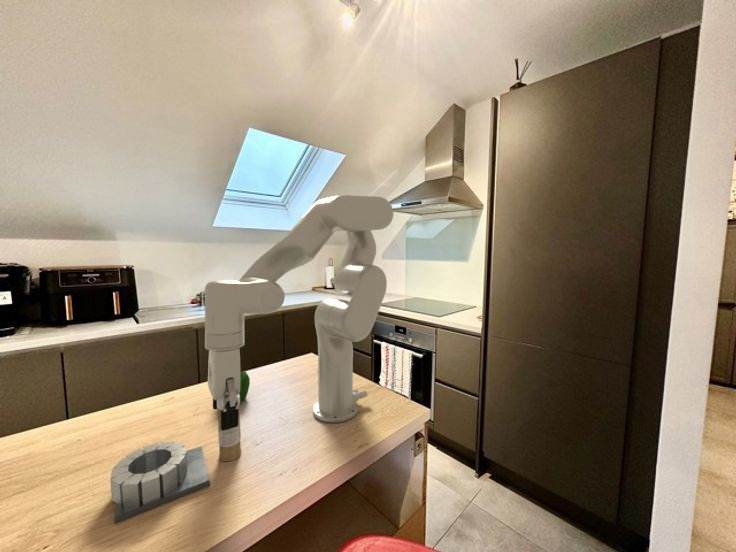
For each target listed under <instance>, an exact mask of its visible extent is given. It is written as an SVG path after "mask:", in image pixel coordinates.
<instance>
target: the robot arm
mask: <svg viewBox="0 0 736 552" xmlns="http://www.w3.org/2000/svg"><path fill="white" fill-rule="evenodd" d="M393 218H394V208H393V206H392V204H391V203H390V201H388V199H386V198H384V197H382V196H373V195H372V196H371V195H369V196H368V195H349V194H347V195H346V194H342V195H340V194H339V195H335V196H330V197H326V198H322V199H319V200H317V201H316V202H314V203H313V204H312V205H311V207H309V209H308V210H307V211H306V212H305V214H303V216H301V218H300V219H299V220H298V222H297V223H296V224H295V225H294V226H293V228H292V229H291V230H290V231H289V232H288V233H287V234H286V235H285V236H284V237H283V239H281V240H280V241H278V242H277V243H276V244H275V245H273V246H272V247H271V248H269V250H267V251H266V252H264V253H263V254H262V255H261V256H260V257H259V258H257V260H256V261H254V263H253V264H252V265H251V266H250V267H249V268H248V269H247V270H246V272H245V273H244V274H243V275H242V276H241V277H240V278H239V280H235V279H218V280H217V279H216V280H211V281H208V282H207V284H206V285H205V286H204V348H205V350H207V351H208V365H207V366H208V368H207V371H208V372H207V387H208V390H209V392H210V394H211V396H212V408H213V410H218V408H217V400H218V399H220V398H221V401H222V409H223V410H222V411H221V430H222V431H224V430H228V429H231V428H235V427H237V426H238V412H239V411H240V406H239V407H238V400H237V395H238V394H239V393H240V372H241V355H240V354H241V353H240V348H243V347H244V346H245V315H246V314H252V315H253V314H257V315H267V314H272V313H274V312H277V311H278V310H279V309H280V308H282V306H283V305H284V302H285V292H284V289H283V287H282V286H281V285H280V284H279V283H277V281H279V280H280V278H282V277H283V276H284V275H285V274H287V273H288V272H290V271H292V270H294V269H296V268H299V267H302V266H304V265H306V264H308V263H310V262H312V261H313V260H315V258H316V257H317V255H318V253H320V251H321V250H322V248H323V247H324V246H325V245H326V243H327V242H328V241H329V240H330V238H331V237H332V236H333V235H334V233H336V232H345V231H346V234H347V240H348V241H347V247H346V249H345V252H344V255H343V257H342V259H341V262H340V264H339V267H338V268H337V271H336V274H335V277H334V279H333V286H334V289H335V291H336V292H337V293H338V294H340V295H341V296H344V297H347V298H350V300H349V301H348V300H344V299H341V298H327V299H324V300H322V301H321V302H320V303H319V304H318V305H317V307H316V309H315V313H314V326H315V330H316V336H317V337H316V338H317V352H318V353H317V363H318V365H317V366H318V369H317V371H318V372H317V373H318V374H317V378H318V380H317V383H318V384H317V386H318V390H317V391H318V401H316V402H315V403H314V404H313V406H312V415H313V416H314V417H315V418H317V419H318V420H320V421H322V422H325V423H332V424H333V423H342V422H346V421H348V420H349V421H350V419H353V418H354V417H355V416H356V415H357V414H358V412H359V404H358V401H359V400H361V399H364V398H366V397H368V391H366V390H365V389H363V390H360V391H359V389H358V388H356V389H354V388H353V387H354V386H353V385H354V384H353V379H354V377H353V376H354V375H353V374H354V372H353V371H354V370H353V369H354V368H353V367H354V366H353V364H354V362H353V361H354V360H353V359H354V348H353V342H357V343H358V342H361V341H363V340H364V339H366V338H367V337H368V336H369V334H370V333H371V332H372V329H373V327H374V325H375V322H376V319H377V317H378V314H379V312H380V310H381V306H382V303H383V301H384V298H385V294H386V292H387V285H388V284H387V283H388V282H387V277H386V272H384V270H383V269H382V267H379V266H378V265H375V264H374V261H375V258H376V254H377V244H376V241H375V238H374V235H373V232H372V231H378V230H380V231H381V230H384V229H386V228H387V227H388V226H389V225H391V223H392V221H393V220H394V219H393ZM225 393H228V394H226V395H224V394H225ZM228 398H229V401H227V403H226V402H225V399H228Z"/></svg>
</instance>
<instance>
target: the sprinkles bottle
mask: <svg viewBox="0 0 736 552" xmlns="http://www.w3.org/2000/svg"><path fill="white" fill-rule="evenodd" d="M226 394H228V393H225V394H224V395H226ZM237 400H238V407H239V408H240V404H241V401H240V395H239V394H238V395H237ZM227 401H229V398H228V399H225V402H226V403H227ZM217 408H218V409H217V418H218V419H217V420H218V423H217V424H218V426H217V427H218V430H217V431H218V435H217V436H218V447H219V448H218V449H219V454H218V458H219V459H220V461H222V462H230V461H234V460H236V459H237V458H238V457H240V455H241V453H242V448H241V416H240V412H241V411H240V410H239V412H238V426H237V427H235V428H231V429H228V430H224V431H222V430H221V411H222V410H223V409H222V401H221V398H220V399H218V400H217Z"/></svg>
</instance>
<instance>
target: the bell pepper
mask: <svg viewBox="0 0 736 552" xmlns="http://www.w3.org/2000/svg"><path fill="white" fill-rule="evenodd" d="M250 380H251V379H250V376H249V375H248V373H247V371H240V393H239V395H240V402H242V401H245V400H246V398H247V395H248V392H249V390H250V389H249V388H250V384H251V383H250V382H251V381H250Z"/></svg>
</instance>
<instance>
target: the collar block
mask: <svg viewBox="0 0 736 552" xmlns="http://www.w3.org/2000/svg"><path fill="white" fill-rule="evenodd" d="M142 448H143V449H142ZM142 448H138V449H136V450H134V451H133V452H131V453H129V454H127V455H125V457H123V458H121V459H120V460H119V461H118V462H117V463H116V464H115V465H114V466H113V468H112V469H111V473H110V488H111V489H110V492H111V499H112V502H113V503H114V504H115V509H114V510H115V511H114V517H113V518H114V524H118V523H120V522H123V521H126V520H128V519H130V518H133V517H135V515H136V516H138V515H141V514H142V513H145V512H147V511H150V510H154V509H155V508H158V507H161V506H163V505H165V504H168V503H170V502H174V501H175V500H178V499H180V498H183V497H186V496H188V495H191V494H193V493H195V492H198V491H200V490H203V489H206V488H208V487H210V486H211V480H210V476H209V471H208V467H207V464H206V459H205V455H204V452H203V447H202V446H198V447H195V448H192V449H188V450H187V449H186V445H184V444H182V443H180V442H178V441H160V442H155V443H153V444H149V445H145V446H143V447H142ZM140 513H141V514H140Z"/></svg>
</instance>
